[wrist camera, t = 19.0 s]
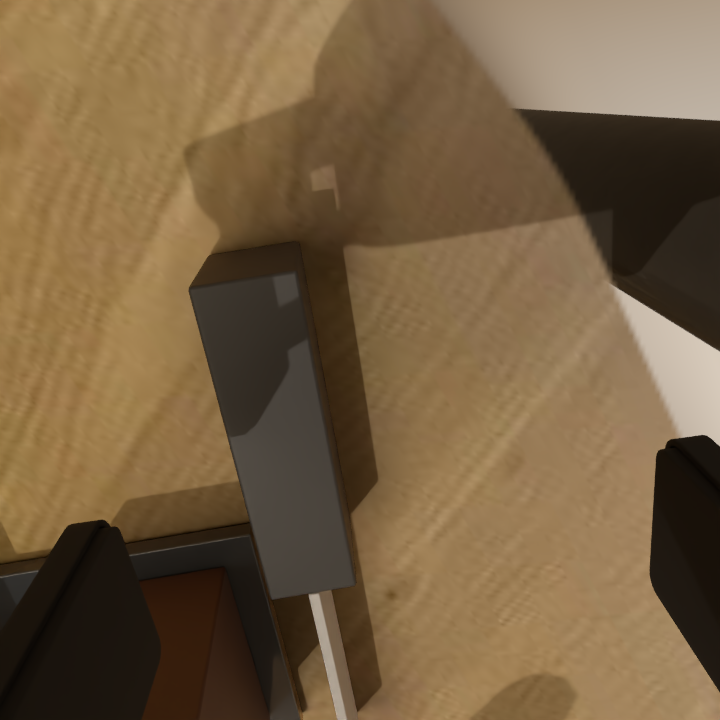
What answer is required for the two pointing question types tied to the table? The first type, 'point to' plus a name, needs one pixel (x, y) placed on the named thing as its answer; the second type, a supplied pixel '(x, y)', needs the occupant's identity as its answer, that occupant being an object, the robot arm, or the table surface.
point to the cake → (201, 651)
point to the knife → (281, 432)
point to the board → (191, 554)
